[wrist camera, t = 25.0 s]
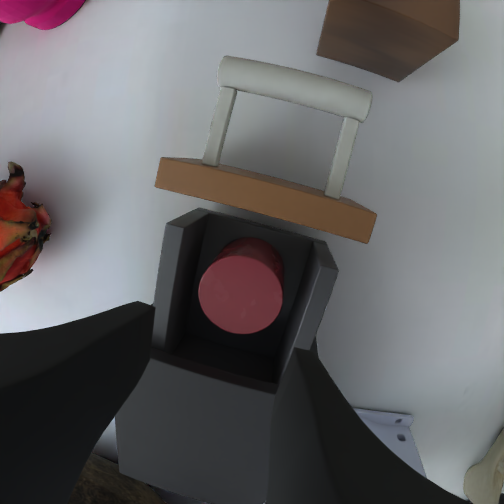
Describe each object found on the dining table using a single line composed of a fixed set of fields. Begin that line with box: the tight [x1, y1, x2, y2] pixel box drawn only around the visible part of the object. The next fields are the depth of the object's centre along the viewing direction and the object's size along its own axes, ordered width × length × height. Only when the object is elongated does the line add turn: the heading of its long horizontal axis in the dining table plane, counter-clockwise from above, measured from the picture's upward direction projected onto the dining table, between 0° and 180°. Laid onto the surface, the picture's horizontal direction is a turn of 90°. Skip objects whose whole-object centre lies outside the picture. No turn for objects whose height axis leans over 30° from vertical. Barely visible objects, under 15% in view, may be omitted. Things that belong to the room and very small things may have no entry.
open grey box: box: [115, 303, 318, 504], centre depth 18 cm, size 12×10×7 cm
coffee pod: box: [198, 237, 284, 334], centre depth 15 cm, size 4×4×4 cm
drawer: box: [151, 56, 377, 385], centre depth 15 cm, size 15×8×5 cm, turn 166°
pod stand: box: [316, 0, 460, 82], centre depth 11 cm, size 5×5×8 cm
